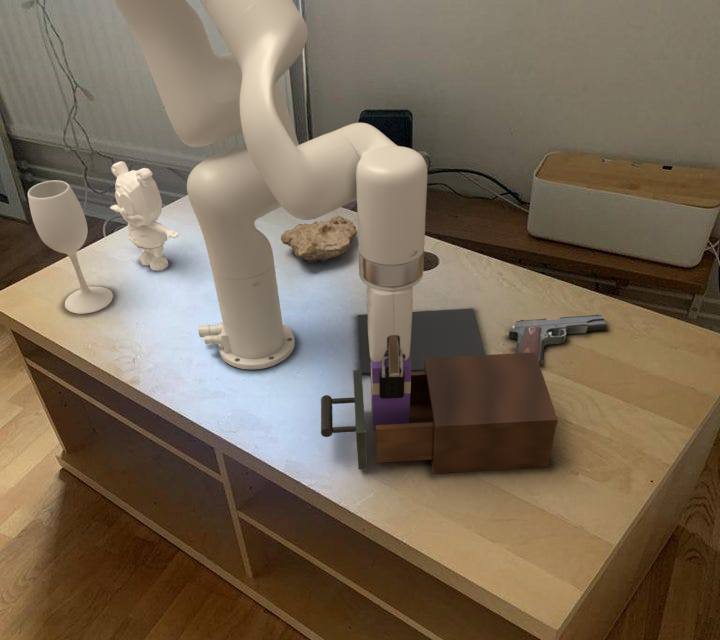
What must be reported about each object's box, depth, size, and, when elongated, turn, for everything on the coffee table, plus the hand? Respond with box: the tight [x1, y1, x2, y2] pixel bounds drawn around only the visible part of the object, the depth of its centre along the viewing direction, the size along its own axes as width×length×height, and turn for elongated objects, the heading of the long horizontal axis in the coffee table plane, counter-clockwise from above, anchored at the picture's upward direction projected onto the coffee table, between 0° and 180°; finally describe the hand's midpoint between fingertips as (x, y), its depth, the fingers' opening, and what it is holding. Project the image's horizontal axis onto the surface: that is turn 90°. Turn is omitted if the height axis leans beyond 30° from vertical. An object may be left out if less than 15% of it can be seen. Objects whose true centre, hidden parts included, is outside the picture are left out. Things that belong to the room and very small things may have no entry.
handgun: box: [507, 314, 607, 365], centre depth 117 cm, size 17×11×2 cm, turn 95°
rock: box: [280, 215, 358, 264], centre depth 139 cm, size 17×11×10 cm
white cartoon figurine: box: [109, 160, 180, 271], centre depth 133 cm, size 8×20×19 cm, turn 49°
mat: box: [357, 308, 485, 376], centre depth 120 cm, size 20×16×1 cm
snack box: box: [370, 350, 411, 431], centre depth 98 cm, size 5×4×11 cm
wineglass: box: [27, 179, 114, 315], centre depth 125 cm, size 9×9×21 cm
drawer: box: [320, 369, 434, 470], centre depth 101 cm, size 19×13×7 cm
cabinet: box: [424, 352, 559, 474], centre depth 101 cm, size 16×14×9 cm
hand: (390, 382), depth 97 cm, fingers closed on snack box, 4 cm apart
